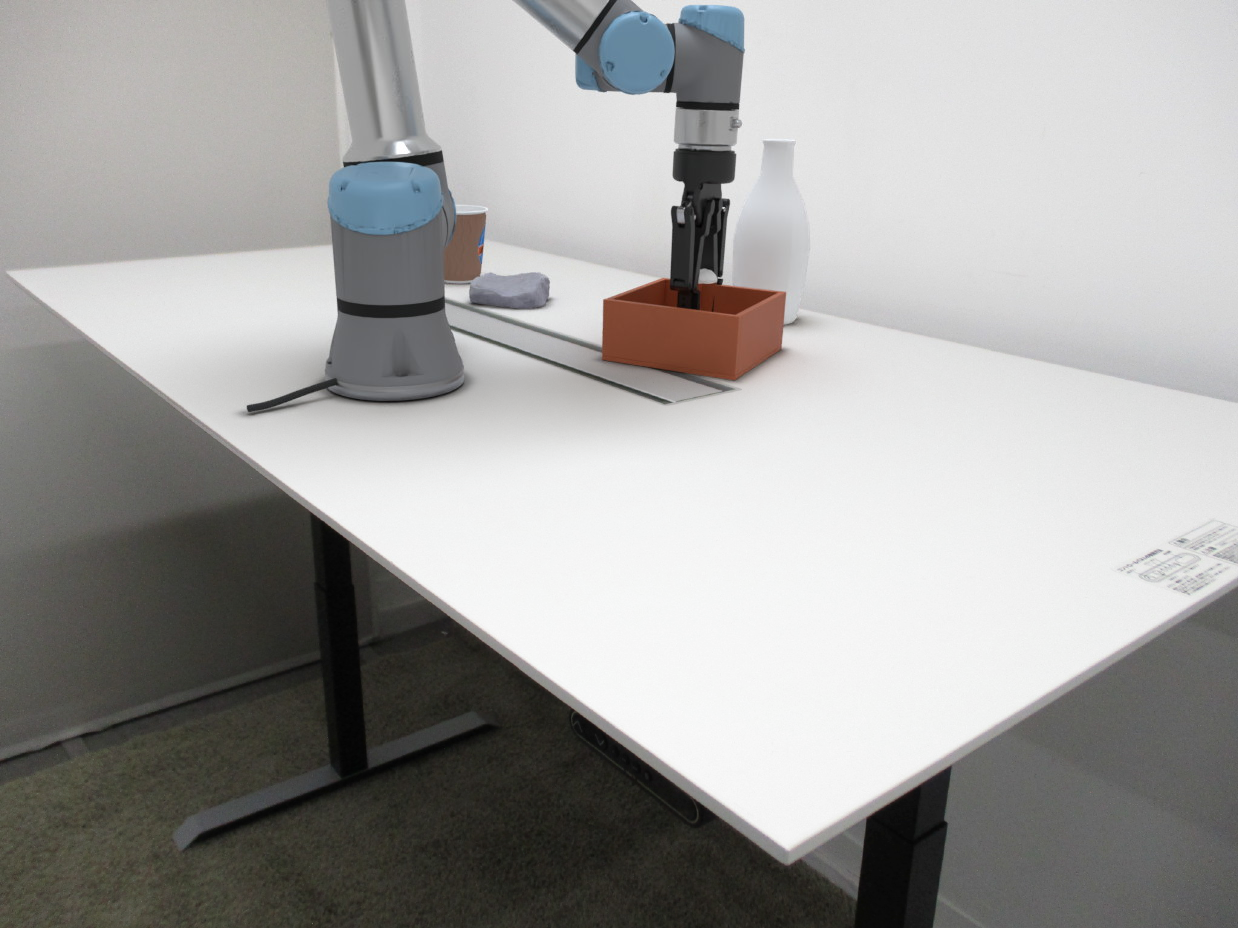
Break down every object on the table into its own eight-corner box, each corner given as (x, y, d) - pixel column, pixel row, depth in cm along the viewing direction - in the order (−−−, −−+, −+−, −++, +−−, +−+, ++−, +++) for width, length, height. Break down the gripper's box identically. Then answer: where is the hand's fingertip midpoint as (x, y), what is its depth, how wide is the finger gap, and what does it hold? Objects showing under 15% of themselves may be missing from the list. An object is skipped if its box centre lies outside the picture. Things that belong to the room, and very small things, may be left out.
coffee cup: (496, 284, 170) (495, 211, 166) (435, 287, 166) (433, 212, 162) (481, 273, 179) (479, 204, 174) (423, 275, 175) (420, 205, 171)
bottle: (746, 308, 157) (758, 136, 148) (814, 317, 152) (831, 140, 143) (715, 320, 148) (726, 139, 139) (786, 331, 143) (802, 143, 134)
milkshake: (684, 334, 132) (690, 257, 128) (718, 341, 129) (725, 263, 125) (664, 339, 129) (669, 260, 125) (698, 347, 125) (705, 266, 122)
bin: (734, 380, 118) (739, 317, 115) (601, 360, 125) (603, 299, 123) (781, 349, 133) (786, 291, 130) (660, 332, 140) (662, 277, 138)
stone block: (542, 320, 152) (552, 295, 161) (540, 291, 150) (550, 266, 158) (465, 319, 154) (479, 294, 162) (461, 290, 151) (476, 265, 159)
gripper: (707, 152, 111) (694, 357, 120) (759, 146, 126) (744, 330, 134) (645, 148, 114) (637, 349, 123) (703, 143, 129) (692, 322, 137)
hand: (693, 338), depth 128 cm, fingers closed on milkshake, 4 cm apart
